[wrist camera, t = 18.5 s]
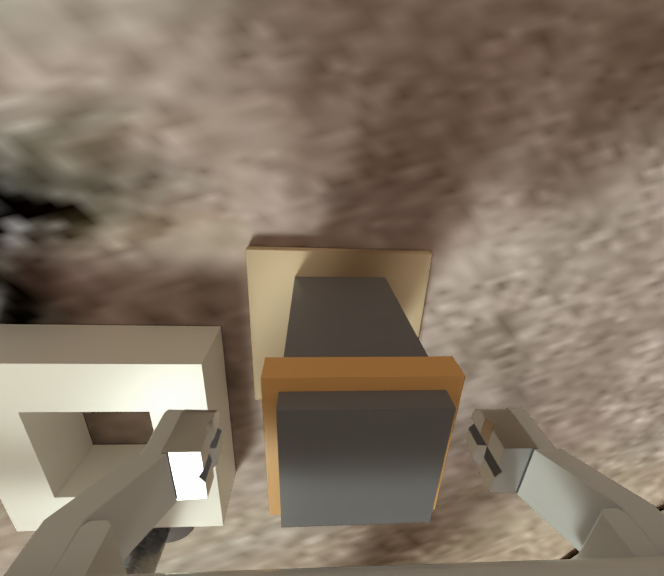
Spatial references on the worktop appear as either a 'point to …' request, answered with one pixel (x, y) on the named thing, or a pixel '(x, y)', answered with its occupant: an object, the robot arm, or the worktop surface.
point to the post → (152, 549)
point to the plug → (355, 409)
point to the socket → (101, 409)
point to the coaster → (289, 262)
